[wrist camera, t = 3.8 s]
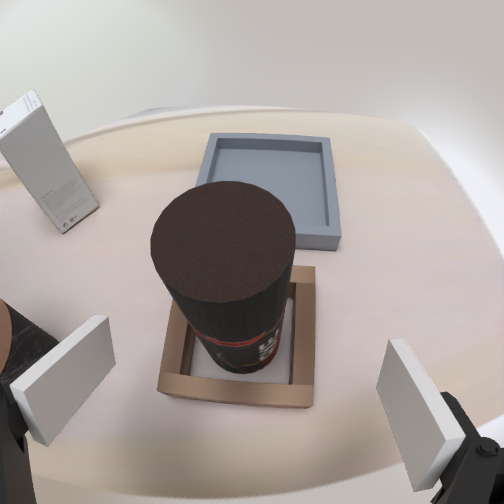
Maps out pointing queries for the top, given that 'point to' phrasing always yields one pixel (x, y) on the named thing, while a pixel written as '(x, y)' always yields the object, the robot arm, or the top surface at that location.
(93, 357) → the robot arm
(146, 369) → the top surface
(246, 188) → the deodorant
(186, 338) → the frame
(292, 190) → the slate tray
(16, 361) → the travel mug
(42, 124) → the skincare box
